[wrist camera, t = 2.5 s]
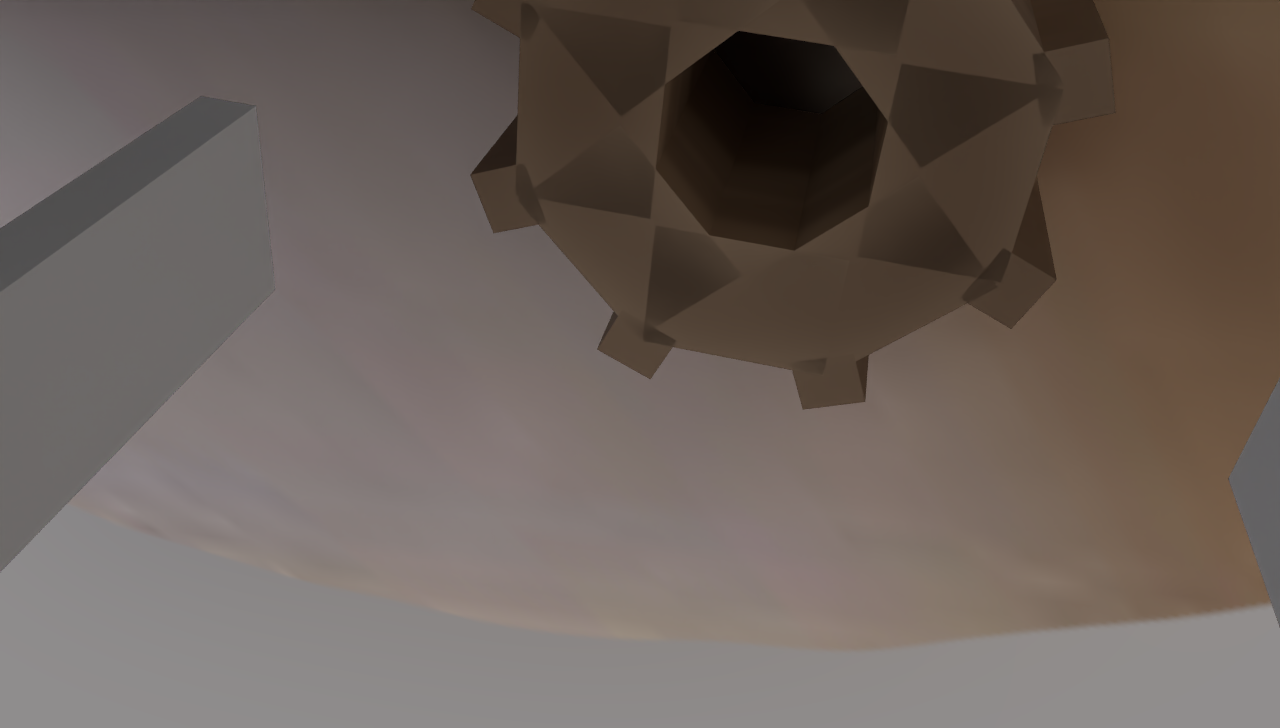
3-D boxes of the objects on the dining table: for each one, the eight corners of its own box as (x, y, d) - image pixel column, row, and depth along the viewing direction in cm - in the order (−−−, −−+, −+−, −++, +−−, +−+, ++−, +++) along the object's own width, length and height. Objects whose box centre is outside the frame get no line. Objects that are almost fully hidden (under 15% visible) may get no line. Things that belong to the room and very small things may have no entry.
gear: (556, 201, 26) (469, 343, 21) (582, -281, 20) (472, -242, 15) (982, 279, 24) (997, 447, 20) (1134, -209, 19) (1205, -145, 14)
